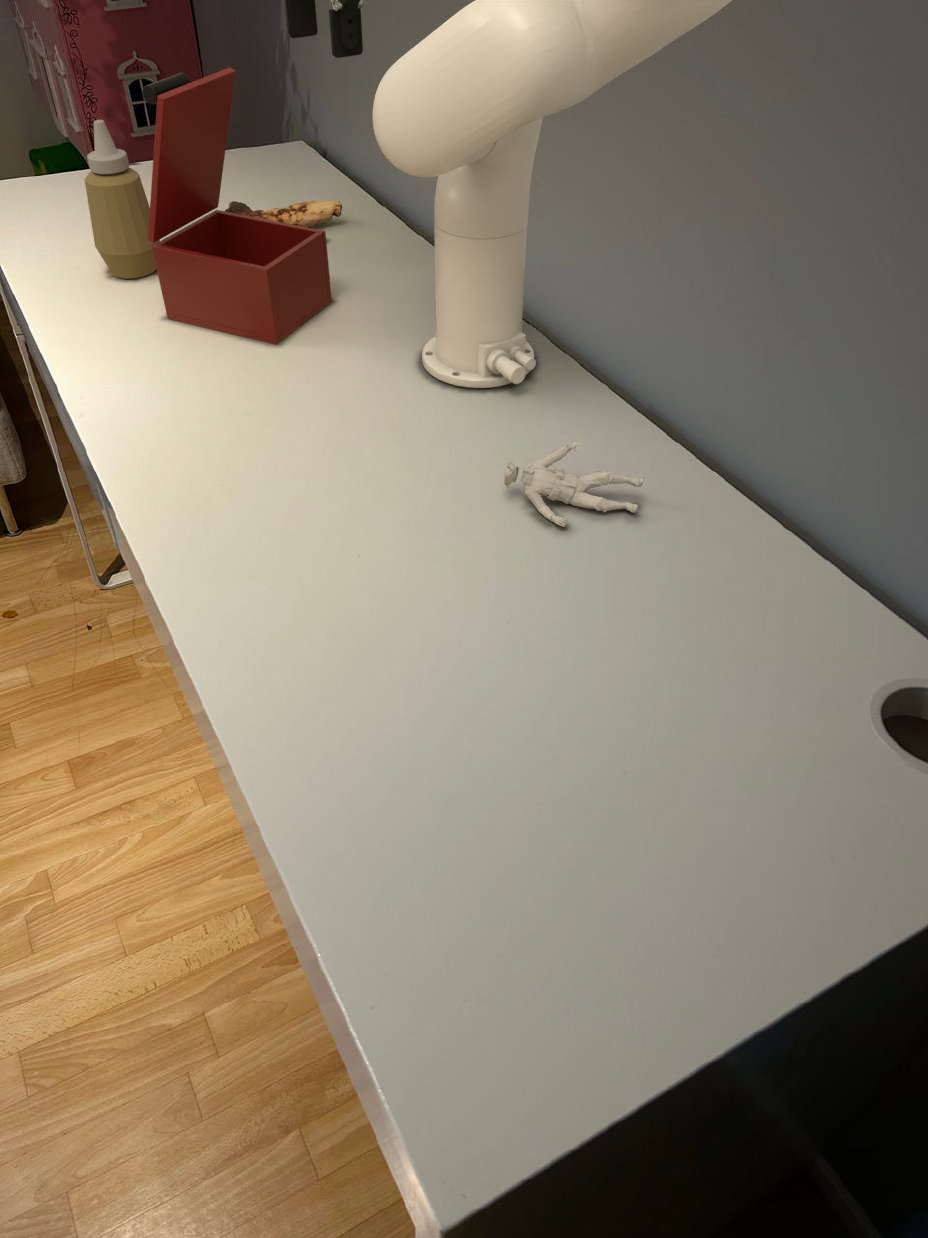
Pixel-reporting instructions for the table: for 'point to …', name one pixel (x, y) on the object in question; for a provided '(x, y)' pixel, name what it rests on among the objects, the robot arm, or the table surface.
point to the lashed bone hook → (293, 212)
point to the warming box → (244, 275)
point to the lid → (187, 148)
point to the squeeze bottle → (118, 209)
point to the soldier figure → (567, 485)
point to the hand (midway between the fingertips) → (324, 45)
